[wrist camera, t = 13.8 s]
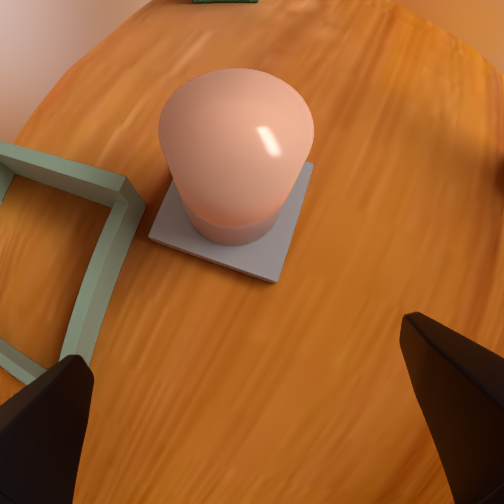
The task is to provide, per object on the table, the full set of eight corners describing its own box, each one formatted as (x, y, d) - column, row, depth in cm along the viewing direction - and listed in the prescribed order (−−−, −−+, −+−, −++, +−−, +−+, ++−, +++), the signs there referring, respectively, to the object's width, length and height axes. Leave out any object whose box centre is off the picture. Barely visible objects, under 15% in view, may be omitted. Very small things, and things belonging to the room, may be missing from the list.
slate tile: (274, 284, 21) (277, 282, 20) (152, 240, 21) (147, 236, 20) (310, 171, 23) (314, 164, 22) (199, 135, 23) (198, 127, 22)
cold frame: (80, 401, 18) (46, 418, 13) (-41, 315, 18) (-76, 311, 13) (146, 205, 22) (126, 176, 17) (14, 162, 22) (-15, 137, 17)
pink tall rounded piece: (229, 266, 20) (229, 226, 11) (166, 196, 21) (130, 120, 12) (300, 202, 21) (343, 131, 12) (236, 141, 22) (241, 51, 13)
